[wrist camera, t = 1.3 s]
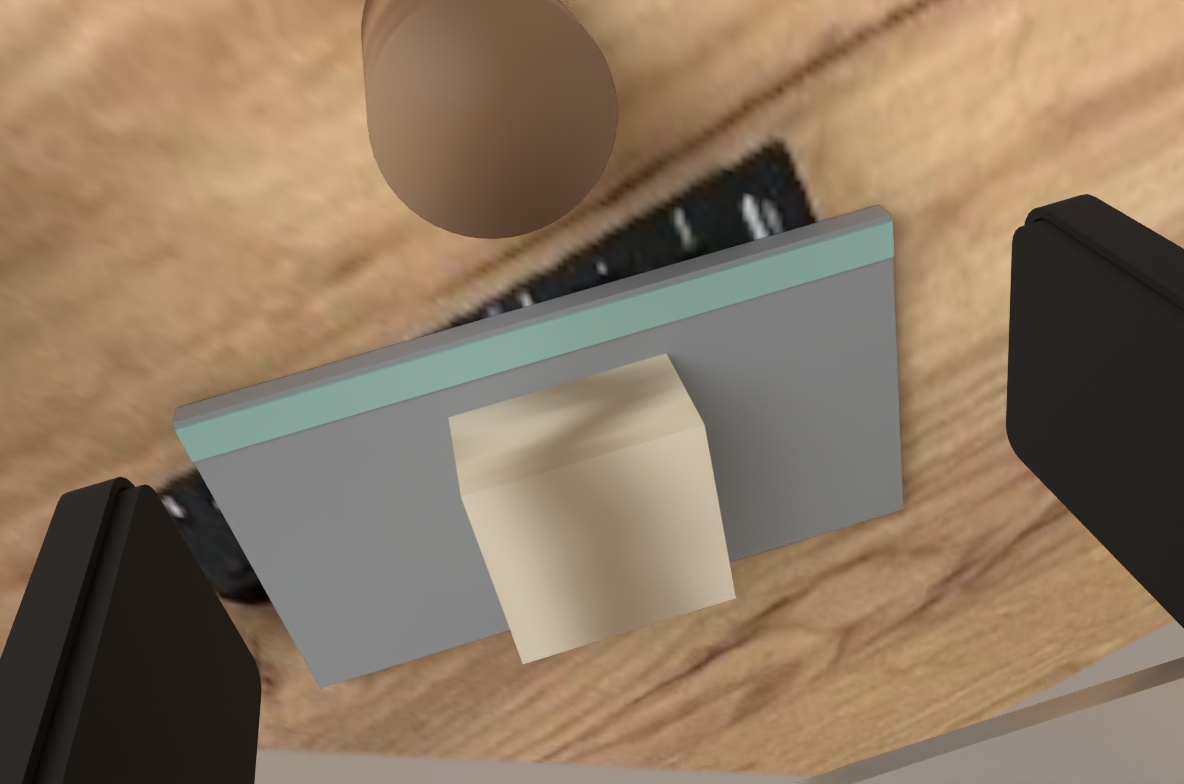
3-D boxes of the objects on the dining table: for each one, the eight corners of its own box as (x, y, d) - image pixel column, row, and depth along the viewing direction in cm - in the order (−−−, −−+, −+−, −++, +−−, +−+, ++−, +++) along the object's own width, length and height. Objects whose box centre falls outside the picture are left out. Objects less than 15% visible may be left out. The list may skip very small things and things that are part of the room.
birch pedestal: (666, 353, 31) (704, 424, 28) (698, 518, 35) (735, 598, 32) (448, 417, 31) (461, 497, 28) (505, 577, 35) (523, 664, 32)
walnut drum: (531, -91, 25) (589, -41, 19) (575, 105, 28) (637, 201, 22) (332, -38, 24) (330, 29, 19) (397, 155, 27) (412, 266, 22)
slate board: (879, 204, 31) (892, 215, 30) (893, 495, 38) (904, 510, 37) (175, 408, 30) (171, 425, 29) (320, 671, 37) (319, 690, 36)
